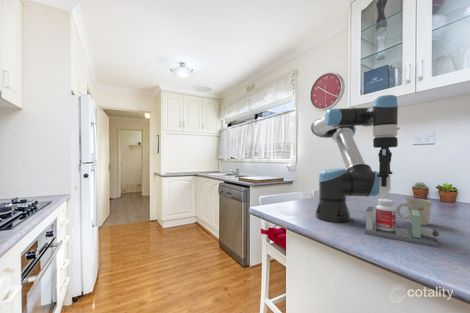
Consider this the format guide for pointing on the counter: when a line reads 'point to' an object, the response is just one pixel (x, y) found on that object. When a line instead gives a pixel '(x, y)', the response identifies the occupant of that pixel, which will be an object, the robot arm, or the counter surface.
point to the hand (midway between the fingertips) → (385, 192)
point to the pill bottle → (385, 215)
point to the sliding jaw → (416, 226)
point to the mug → (419, 205)
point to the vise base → (398, 233)
